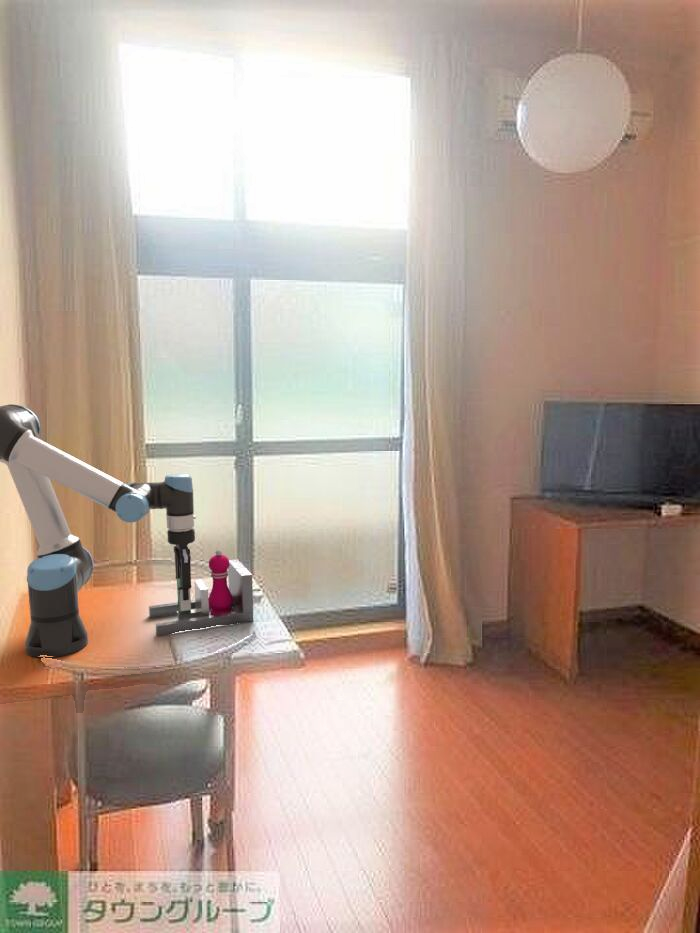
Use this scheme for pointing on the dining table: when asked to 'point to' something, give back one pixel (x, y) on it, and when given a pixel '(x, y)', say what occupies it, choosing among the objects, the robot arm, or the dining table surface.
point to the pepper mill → (220, 585)
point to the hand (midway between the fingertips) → (184, 607)
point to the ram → (200, 602)
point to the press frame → (241, 605)
